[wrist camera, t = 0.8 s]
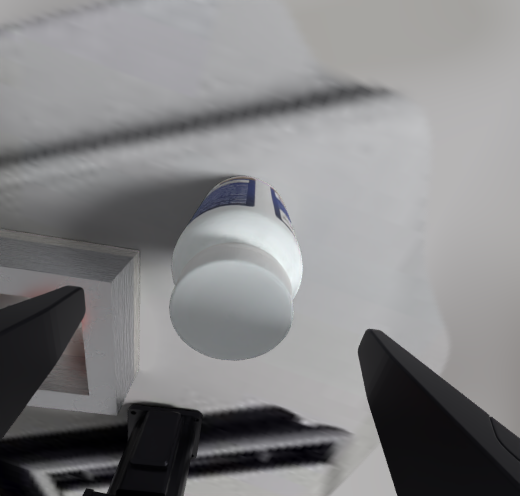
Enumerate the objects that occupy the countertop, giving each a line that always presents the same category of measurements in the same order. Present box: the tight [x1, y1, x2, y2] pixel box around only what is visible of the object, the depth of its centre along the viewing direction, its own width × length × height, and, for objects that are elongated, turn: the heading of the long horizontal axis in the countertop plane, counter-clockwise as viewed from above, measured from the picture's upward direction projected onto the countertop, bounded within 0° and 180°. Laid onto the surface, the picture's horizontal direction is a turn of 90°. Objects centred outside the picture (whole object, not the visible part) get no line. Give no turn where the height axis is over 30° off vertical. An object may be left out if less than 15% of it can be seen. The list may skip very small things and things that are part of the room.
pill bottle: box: [169, 176, 303, 360], centre depth 13 cm, size 5×5×10 cm
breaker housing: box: [0, 229, 140, 416], centre depth 19 cm, size 11×11×4 cm
